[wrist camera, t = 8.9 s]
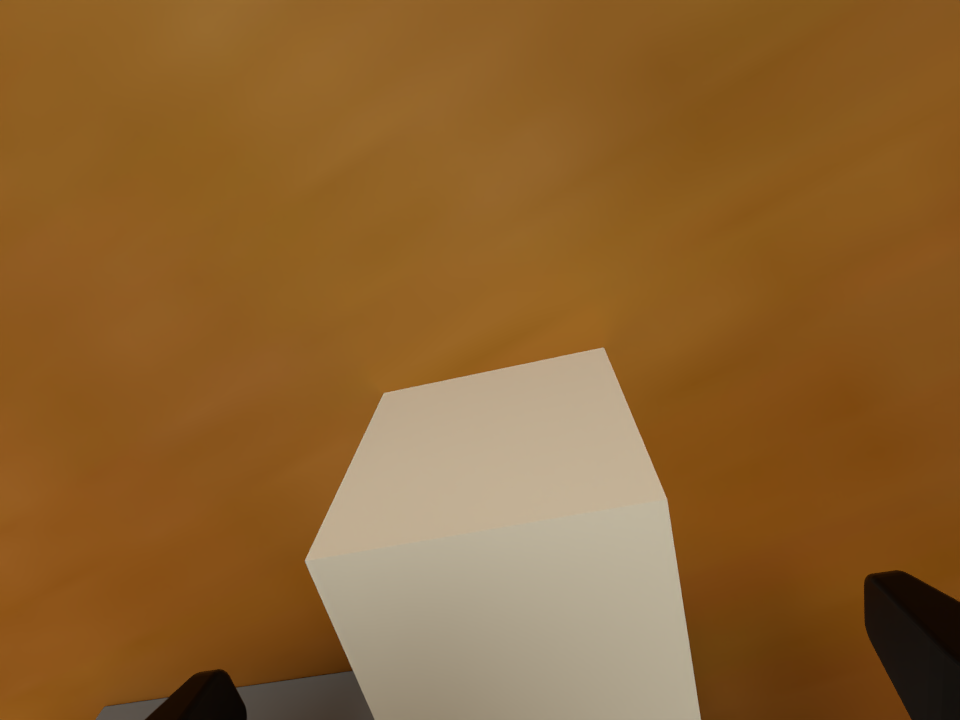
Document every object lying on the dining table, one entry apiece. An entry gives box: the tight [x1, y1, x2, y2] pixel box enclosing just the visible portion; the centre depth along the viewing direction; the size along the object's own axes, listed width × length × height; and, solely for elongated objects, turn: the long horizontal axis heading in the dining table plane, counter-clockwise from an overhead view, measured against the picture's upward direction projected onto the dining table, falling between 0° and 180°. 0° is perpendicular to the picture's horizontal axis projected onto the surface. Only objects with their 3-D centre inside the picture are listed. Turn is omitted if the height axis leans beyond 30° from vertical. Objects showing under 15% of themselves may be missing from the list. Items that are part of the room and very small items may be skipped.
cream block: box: [305, 348, 701, 720], centre depth 10 cm, size 4×4×5 cm
